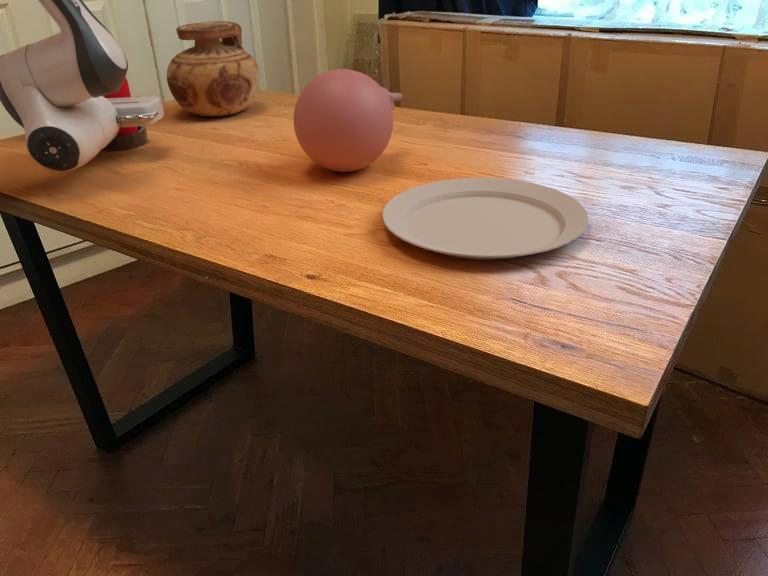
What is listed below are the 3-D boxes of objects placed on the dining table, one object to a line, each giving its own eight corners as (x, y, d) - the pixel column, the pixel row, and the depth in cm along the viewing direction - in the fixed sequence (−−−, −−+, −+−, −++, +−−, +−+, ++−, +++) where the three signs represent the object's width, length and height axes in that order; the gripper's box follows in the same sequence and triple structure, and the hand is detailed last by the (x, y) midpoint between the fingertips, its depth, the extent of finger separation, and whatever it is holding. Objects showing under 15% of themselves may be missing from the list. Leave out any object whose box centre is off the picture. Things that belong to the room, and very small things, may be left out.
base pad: (96, 153, 118) (92, 139, 117) (97, 140, 126) (93, 127, 125) (149, 146, 121) (146, 133, 120) (147, 134, 129) (144, 121, 127)
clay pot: (227, 113, 128) (181, 10, 123) (172, 139, 140) (128, 45, 134) (288, 92, 142) (249, -2, 137) (233, 116, 154) (196, 31, 148)
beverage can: (124, 133, 127) (110, 68, 121) (146, 136, 124) (133, 70, 118) (97, 141, 122) (80, 74, 116) (119, 145, 119) (104, 77, 113)
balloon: (435, 163, 107) (436, 64, 100) (334, 193, 96) (326, 85, 89) (377, 143, 118) (373, 53, 110) (280, 168, 107) (269, 71, 100)
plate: (626, 223, 83) (628, 208, 83) (500, 295, 68) (501, 278, 67) (470, 178, 100) (471, 165, 99) (341, 228, 85) (340, 214, 84)
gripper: (149, 99, 107) (168, 81, 119) (21, 104, 107) (54, 86, 119) (157, 137, 110) (175, 116, 122) (32, 143, 110) (63, 121, 122)
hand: (114, 101), depth 121 cm, fingers open, 8 cm apart
